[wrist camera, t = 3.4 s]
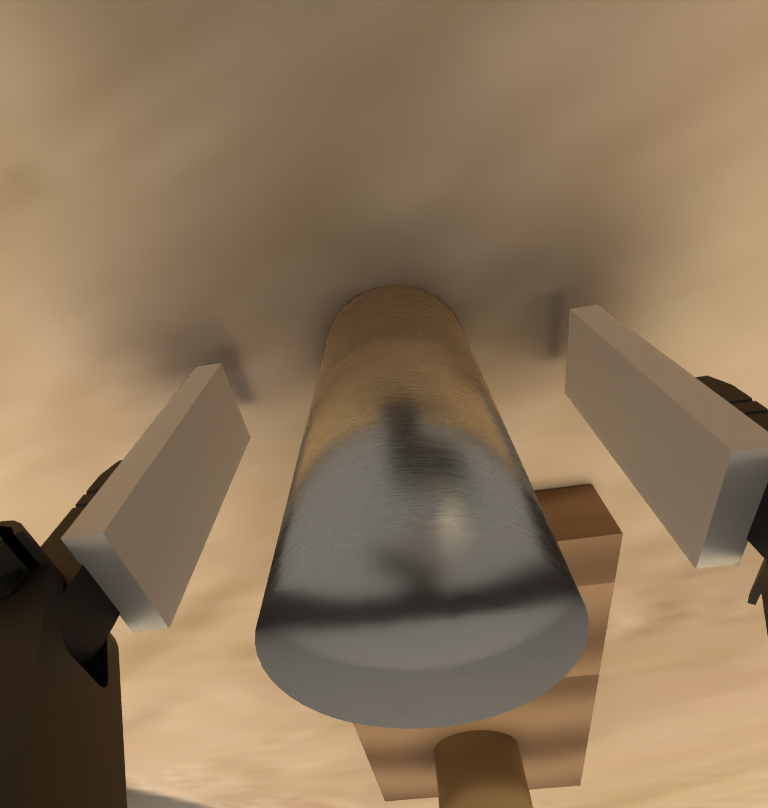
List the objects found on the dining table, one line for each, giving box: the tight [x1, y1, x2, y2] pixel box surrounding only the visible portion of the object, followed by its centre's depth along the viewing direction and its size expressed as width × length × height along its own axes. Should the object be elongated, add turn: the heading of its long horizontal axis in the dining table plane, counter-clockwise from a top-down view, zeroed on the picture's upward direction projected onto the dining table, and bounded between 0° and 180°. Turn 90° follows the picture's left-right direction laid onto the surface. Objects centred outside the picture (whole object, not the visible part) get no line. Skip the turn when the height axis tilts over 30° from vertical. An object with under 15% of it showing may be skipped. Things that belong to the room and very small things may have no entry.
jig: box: [354, 484, 623, 808], centre depth 20 cm, size 22×12×10 cm, turn 9°
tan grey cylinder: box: [255, 285, 589, 729], centre depth 10 cm, size 5×5×10 cm
